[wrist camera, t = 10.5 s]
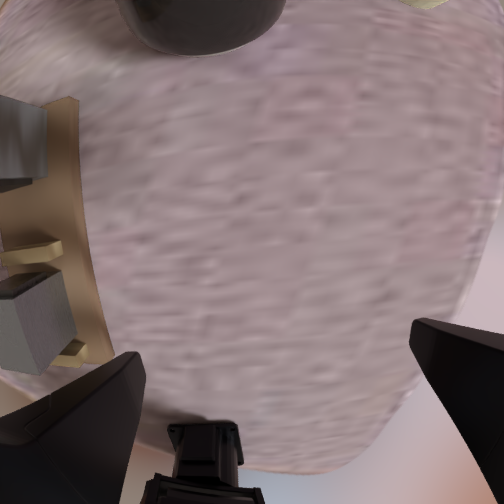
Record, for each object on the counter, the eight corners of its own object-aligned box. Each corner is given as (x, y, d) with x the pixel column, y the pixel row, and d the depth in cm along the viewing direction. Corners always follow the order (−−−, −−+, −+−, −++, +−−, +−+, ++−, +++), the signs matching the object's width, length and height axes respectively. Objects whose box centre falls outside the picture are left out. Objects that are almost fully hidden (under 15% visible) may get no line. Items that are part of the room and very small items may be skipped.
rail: (114, 354, 21) (79, 413, 14) (43, 351, 21) (1, 396, 14) (78, 100, 17) (20, 73, 10) (6, 128, 17) (-54, 120, 9)
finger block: (78, 333, 19) (40, 375, 13) (41, 332, 19) (1, 368, 13) (60, 265, 18) (11, 292, 12) (23, 268, 18) (-26, 293, 12)
